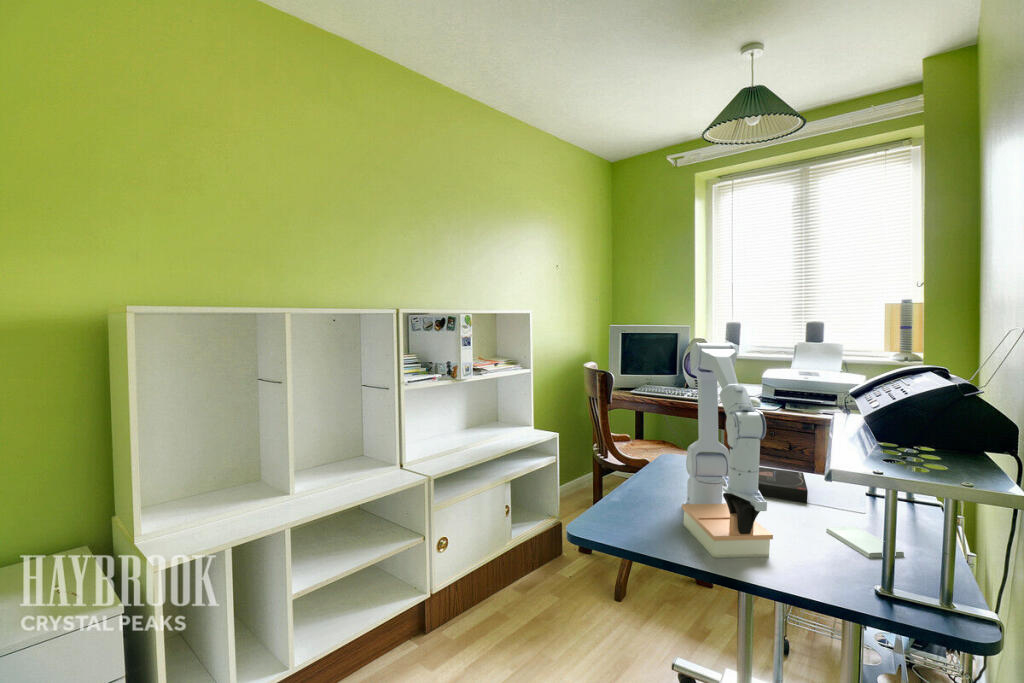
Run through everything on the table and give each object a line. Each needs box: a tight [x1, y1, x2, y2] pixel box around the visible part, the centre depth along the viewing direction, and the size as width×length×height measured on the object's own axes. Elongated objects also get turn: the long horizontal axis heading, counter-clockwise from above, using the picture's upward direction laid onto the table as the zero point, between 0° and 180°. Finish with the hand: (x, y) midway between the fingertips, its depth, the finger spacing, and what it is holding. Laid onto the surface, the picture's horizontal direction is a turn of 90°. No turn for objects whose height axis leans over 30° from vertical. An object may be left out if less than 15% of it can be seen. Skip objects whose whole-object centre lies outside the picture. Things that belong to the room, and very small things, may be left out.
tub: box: [683, 510, 771, 559], centre depth 113 cm, size 16×12×4 cm
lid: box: [681, 503, 774, 541], centre depth 112 cm, size 17×13×5 cm
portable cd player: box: [758, 466, 809, 504], centre depth 145 cm, size 16×17×4 cm
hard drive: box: [825, 526, 905, 559], centre depth 112 cm, size 2×8×12 cm
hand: (741, 530), depth 105 cm, fingers open, 2 cm apart
